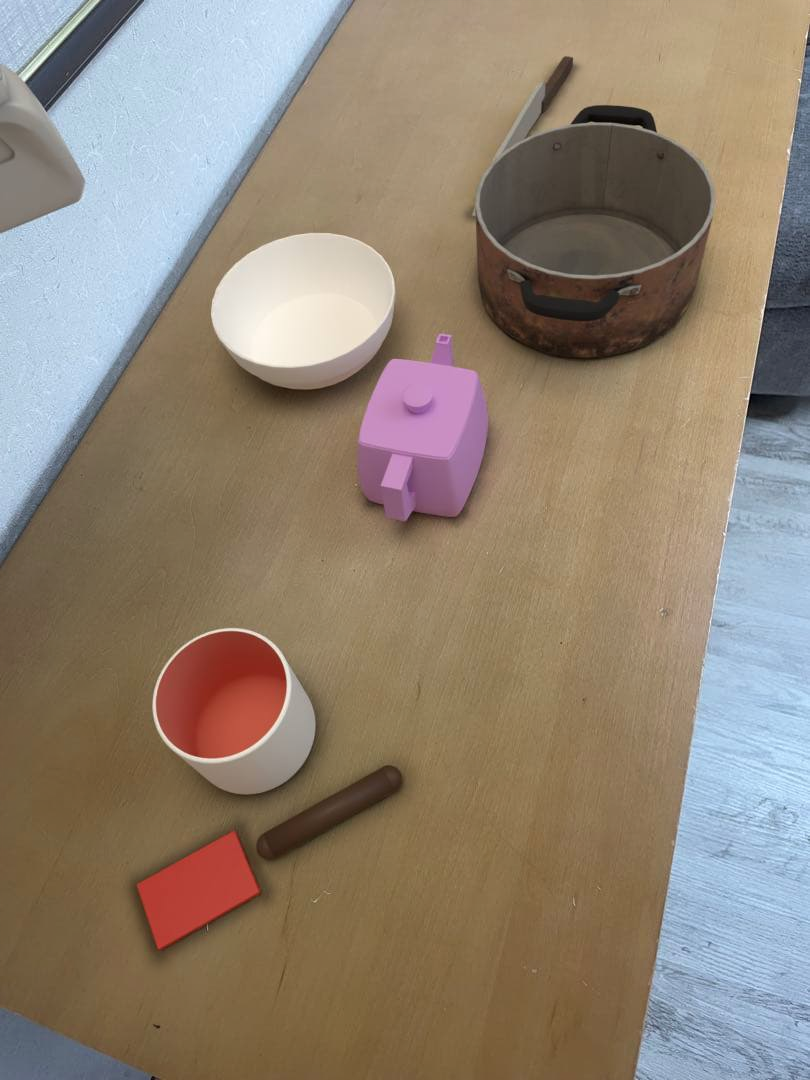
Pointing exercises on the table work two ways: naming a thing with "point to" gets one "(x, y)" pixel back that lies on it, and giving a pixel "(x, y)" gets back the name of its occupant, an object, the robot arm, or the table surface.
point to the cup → (234, 711)
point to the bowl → (305, 309)
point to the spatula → (244, 862)
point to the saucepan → (592, 234)
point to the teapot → (423, 436)
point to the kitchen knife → (535, 106)
